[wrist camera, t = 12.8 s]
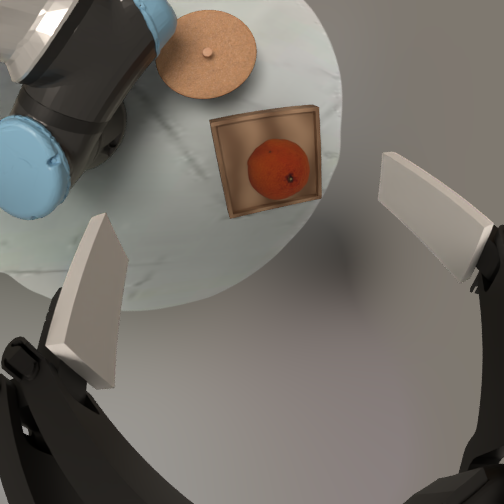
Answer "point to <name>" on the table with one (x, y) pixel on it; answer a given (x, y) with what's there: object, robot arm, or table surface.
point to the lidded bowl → (207, 55)
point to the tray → (253, 135)
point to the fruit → (278, 169)
